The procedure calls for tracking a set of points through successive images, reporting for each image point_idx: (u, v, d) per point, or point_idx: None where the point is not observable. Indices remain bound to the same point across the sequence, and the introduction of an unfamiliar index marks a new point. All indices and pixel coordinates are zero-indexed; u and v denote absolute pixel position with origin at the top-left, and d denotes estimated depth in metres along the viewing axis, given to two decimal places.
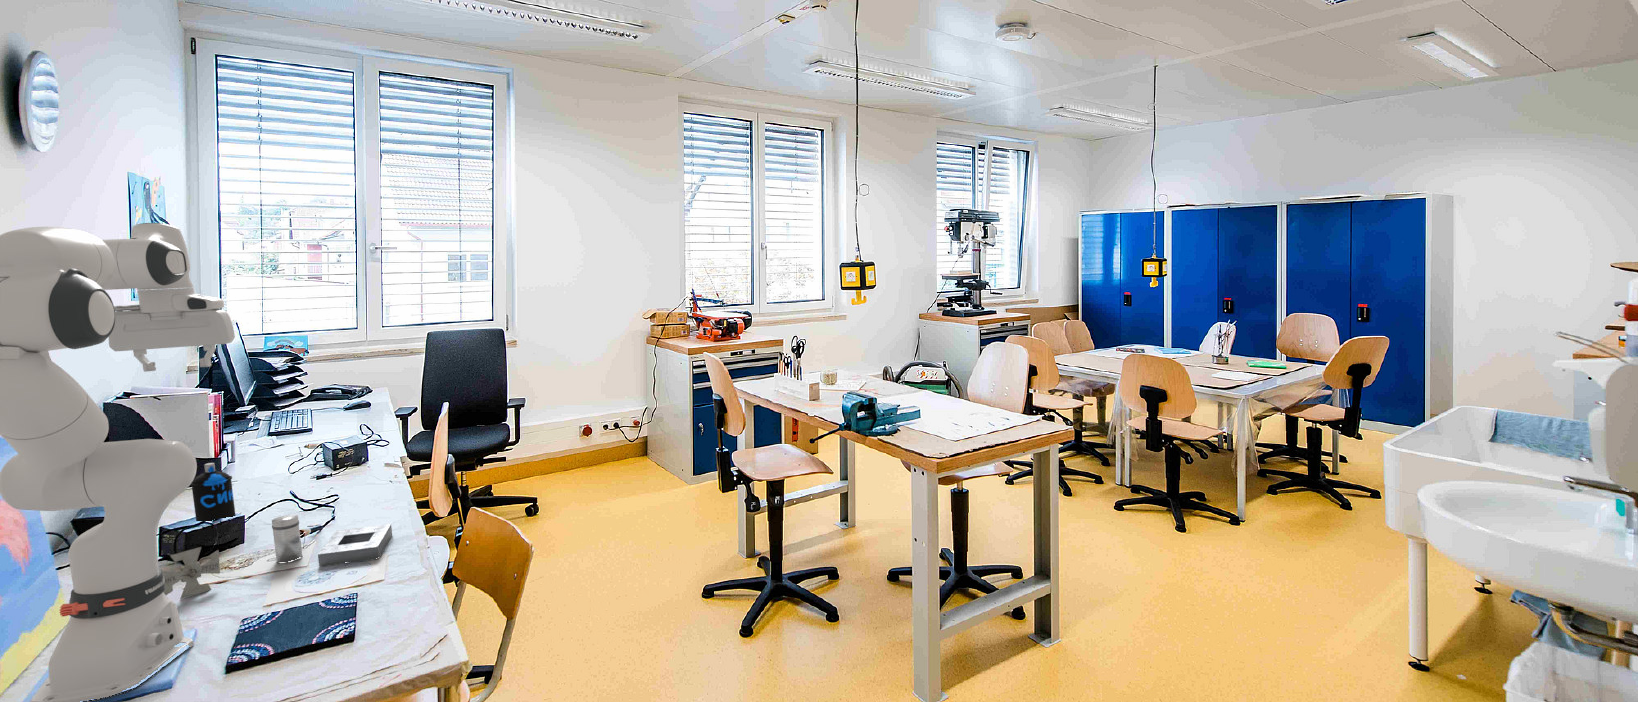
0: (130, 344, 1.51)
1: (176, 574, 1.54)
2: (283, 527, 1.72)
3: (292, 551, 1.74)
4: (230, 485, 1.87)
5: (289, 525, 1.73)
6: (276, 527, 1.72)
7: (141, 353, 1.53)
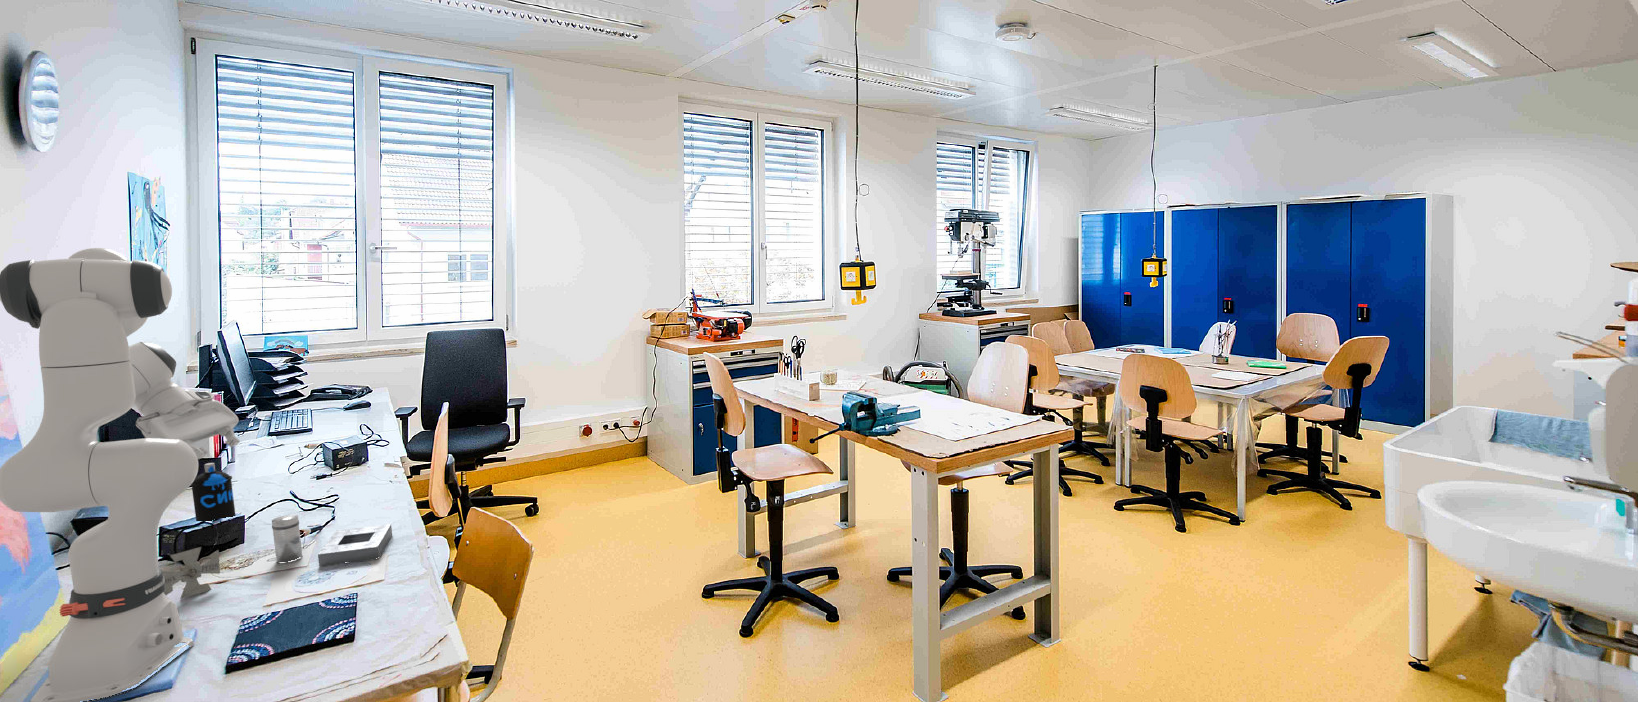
0: (180, 434, 1.64)
1: (176, 574, 1.54)
2: (283, 527, 1.72)
3: (292, 551, 1.74)
4: (230, 485, 1.87)
5: (289, 525, 1.73)
6: (276, 527, 1.72)
7: (190, 442, 1.66)
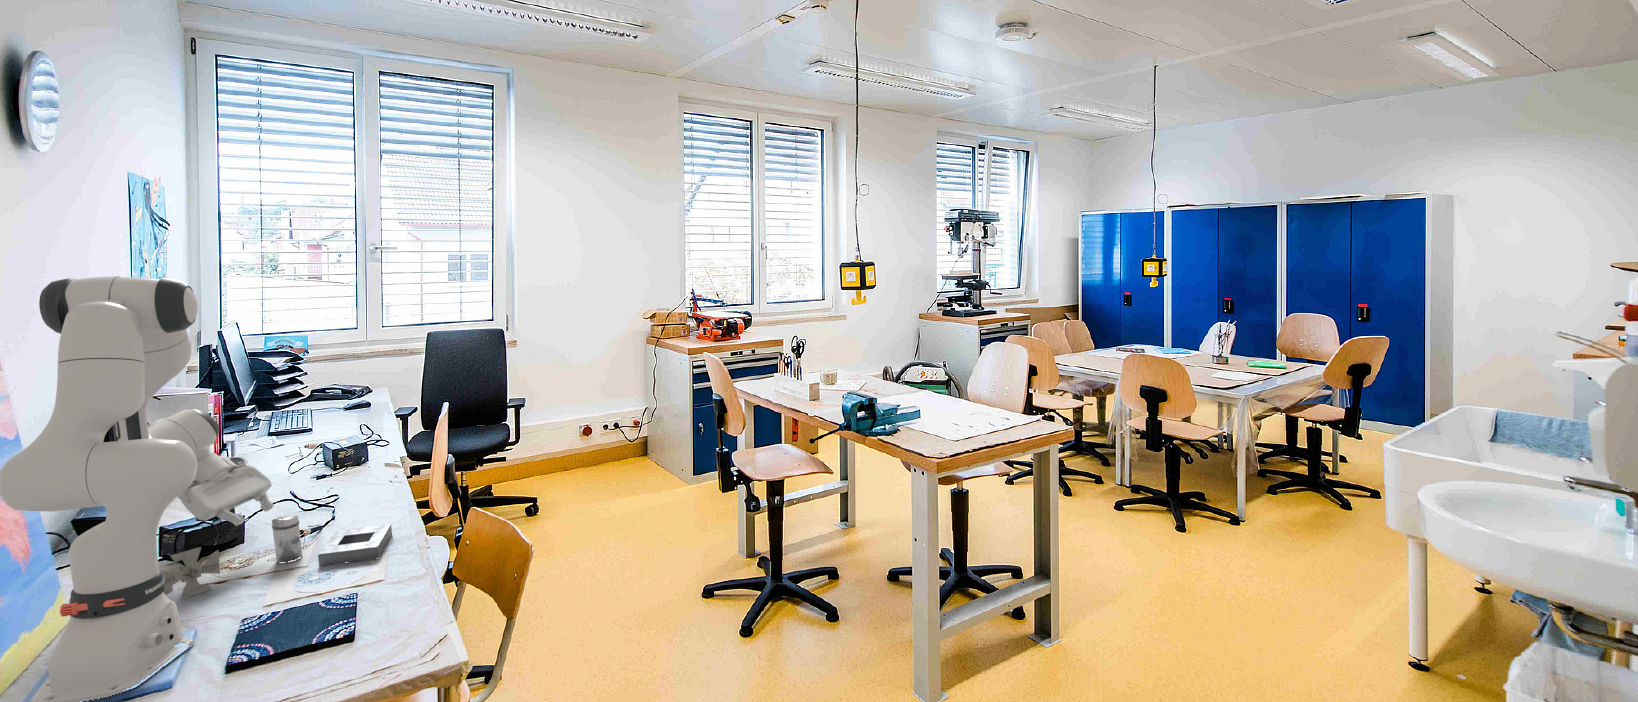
0: (219, 502, 1.67)
1: (176, 574, 1.54)
2: (283, 527, 1.72)
3: (292, 551, 1.74)
4: None
5: (289, 525, 1.73)
6: (276, 527, 1.72)
7: (228, 509, 1.68)
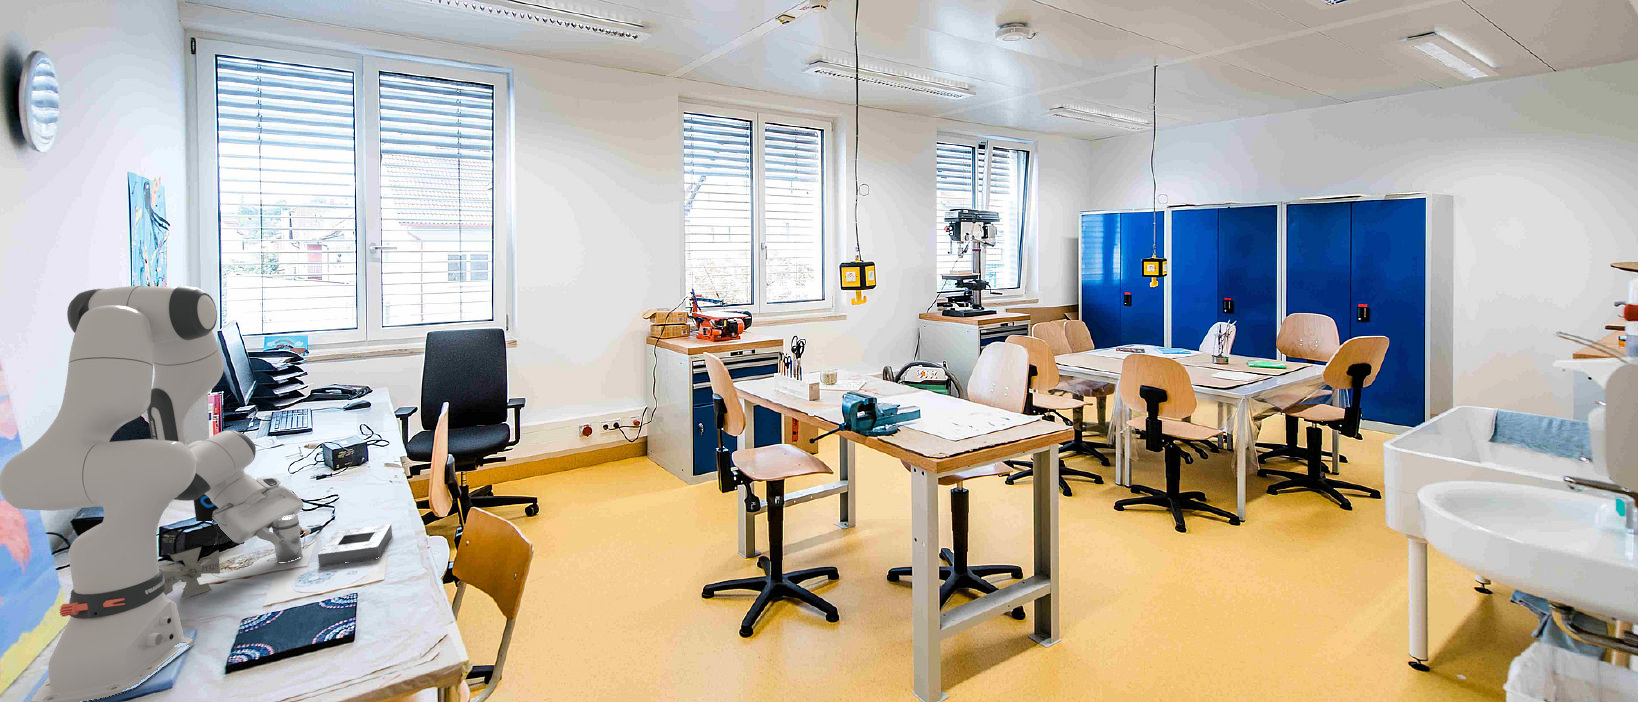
0: (254, 524, 1.68)
1: (176, 574, 1.54)
2: (283, 527, 1.72)
3: (292, 551, 1.74)
4: None
5: (289, 525, 1.73)
6: (276, 527, 1.72)
7: (268, 529, 1.70)
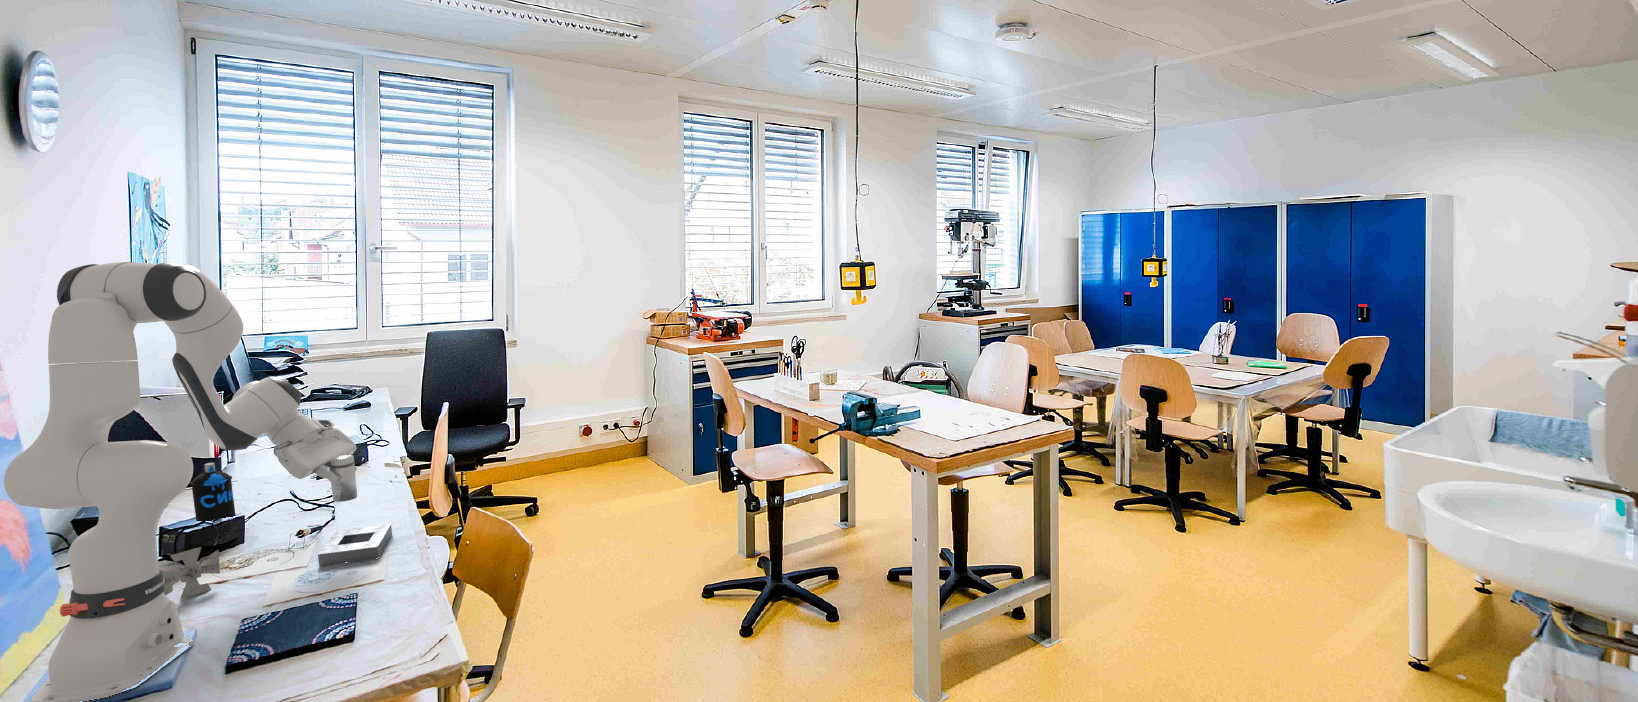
0: (313, 461, 1.70)
1: (176, 574, 1.54)
2: (340, 465, 1.75)
3: (349, 490, 1.76)
4: (230, 485, 1.87)
5: (346, 464, 1.75)
6: (333, 466, 1.75)
7: (326, 467, 1.73)
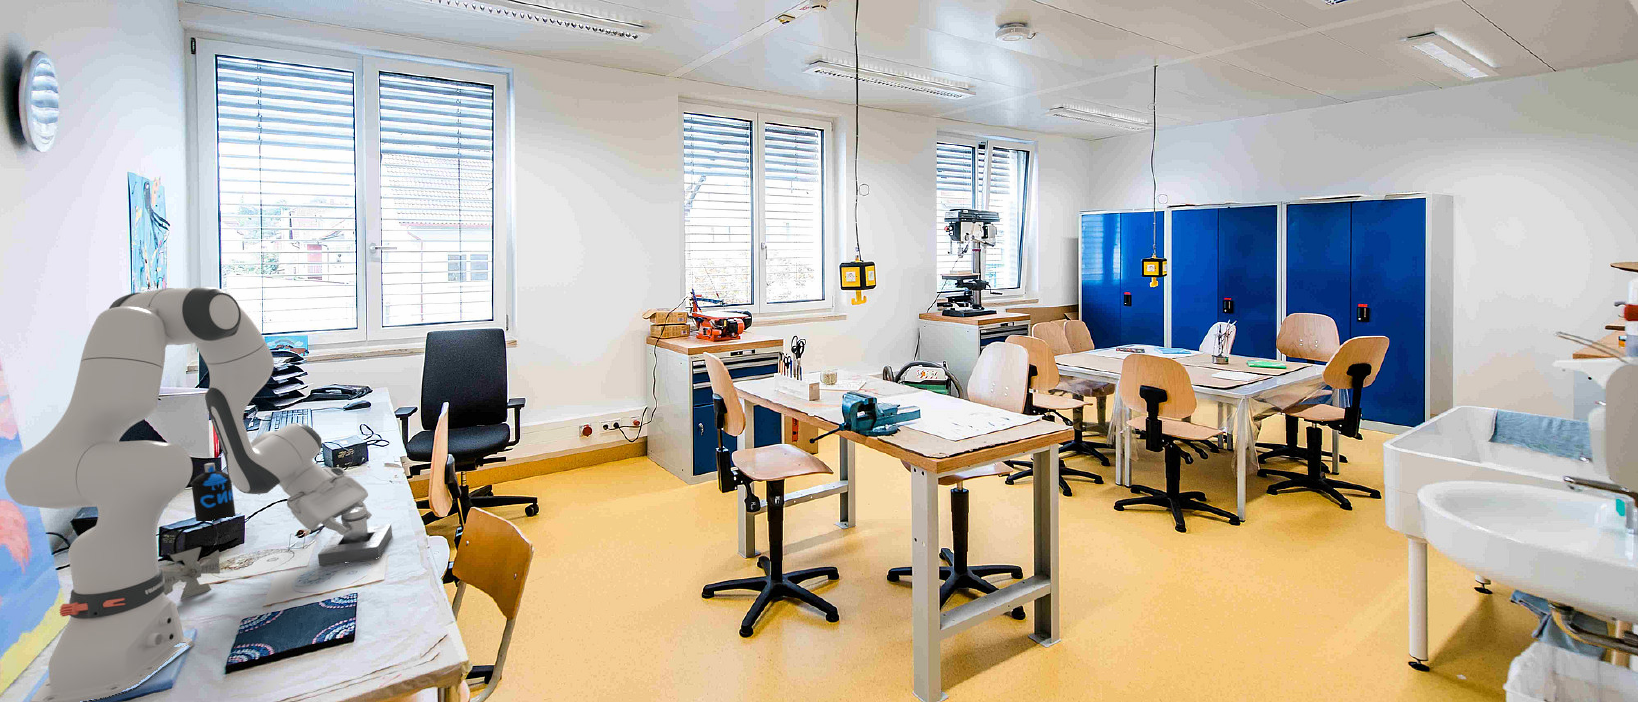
0: (326, 512, 1.72)
1: (176, 574, 1.54)
2: (352, 519, 1.77)
3: None
4: (230, 485, 1.87)
5: (358, 517, 1.77)
6: (346, 519, 1.76)
7: (334, 519, 1.74)
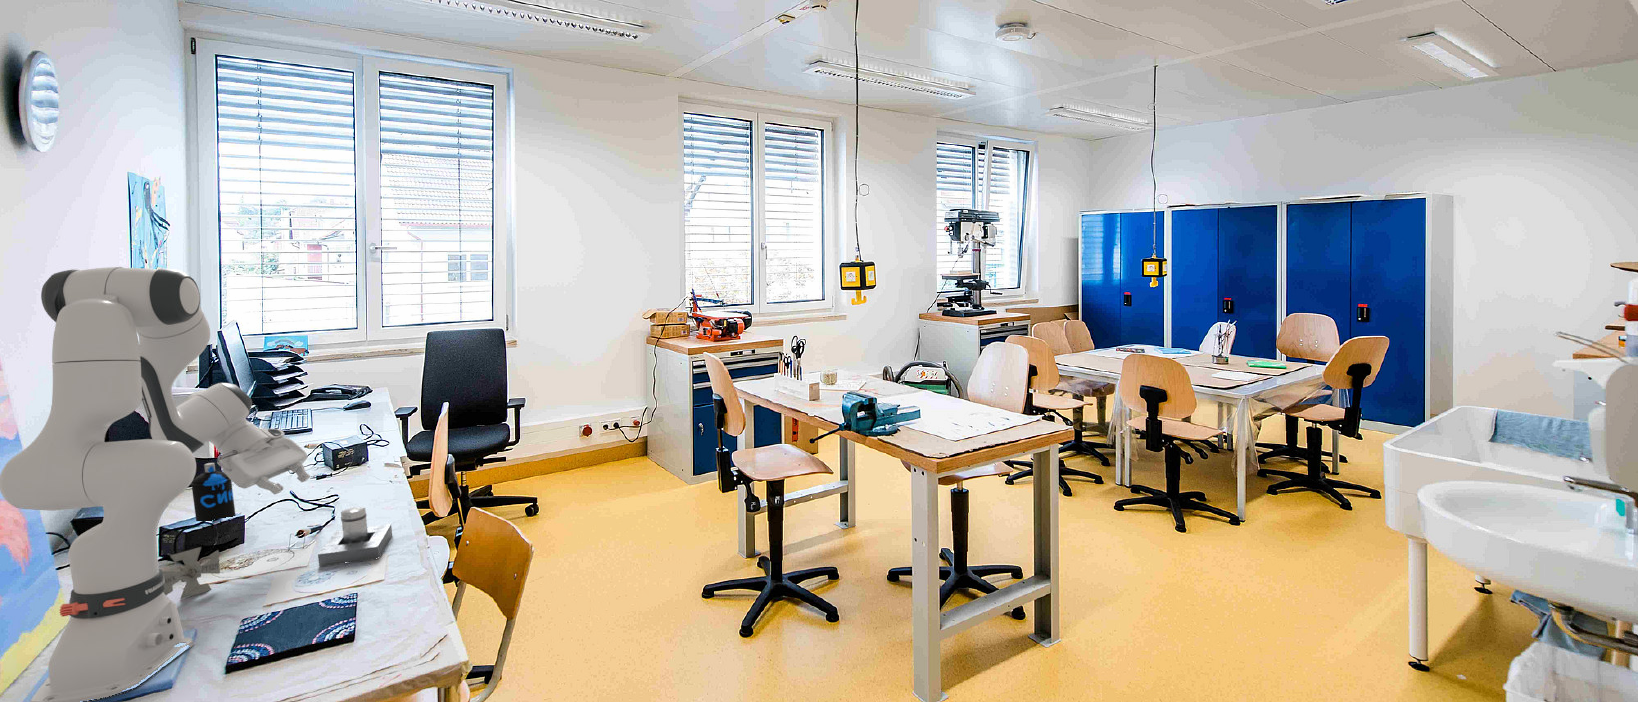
0: (259, 471, 1.70)
1: (176, 574, 1.54)
2: (352, 519, 1.77)
3: None
4: (230, 485, 1.87)
5: (358, 517, 1.77)
6: (346, 519, 1.76)
7: (267, 478, 1.71)
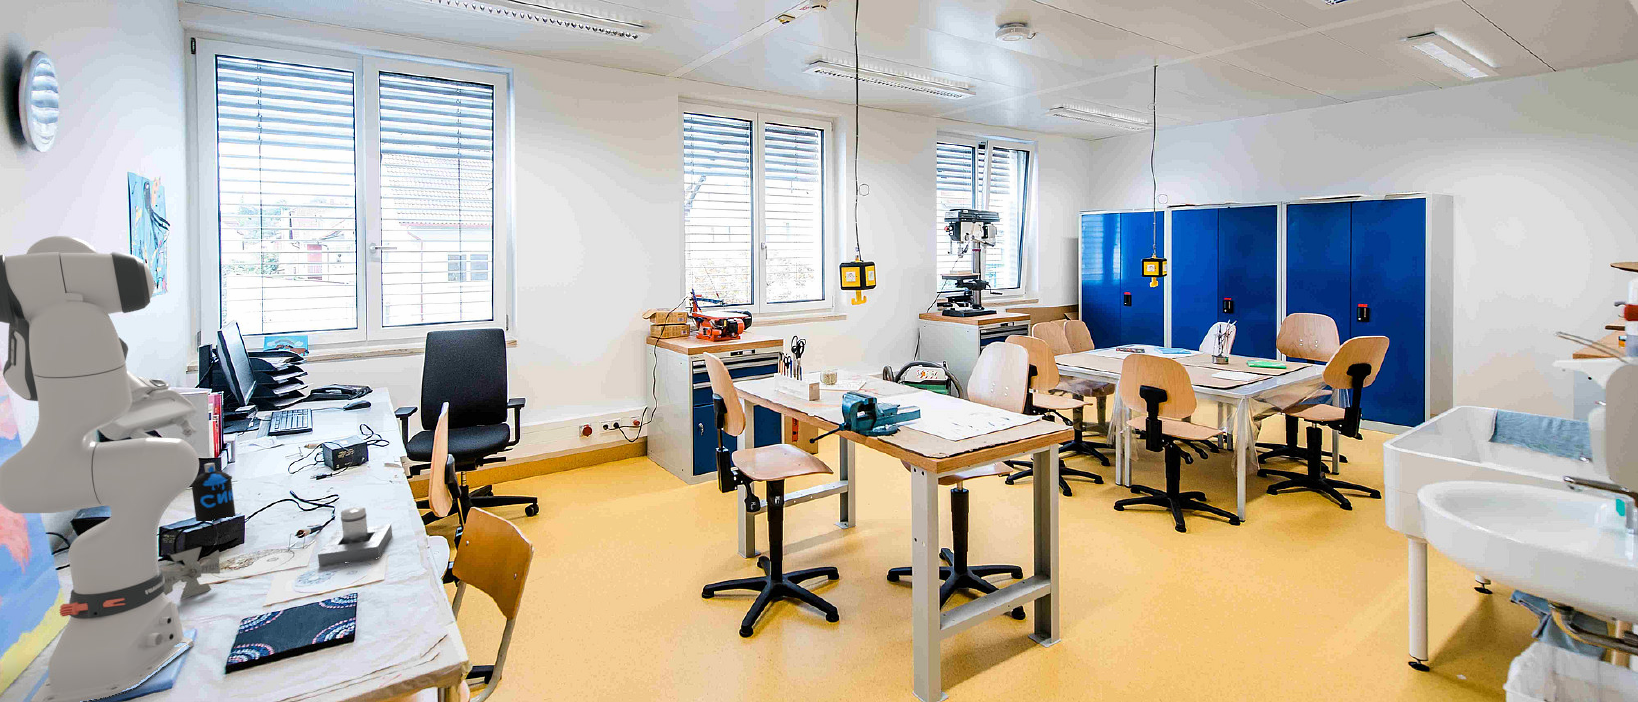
0: (132, 422, 1.55)
1: (176, 574, 1.54)
2: (352, 519, 1.77)
3: None
4: (230, 485, 1.87)
5: (358, 517, 1.77)
6: (345, 519, 1.76)
7: (143, 430, 1.57)
